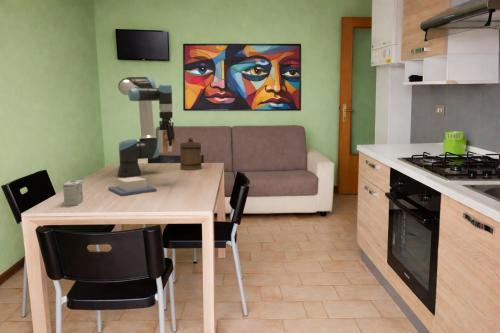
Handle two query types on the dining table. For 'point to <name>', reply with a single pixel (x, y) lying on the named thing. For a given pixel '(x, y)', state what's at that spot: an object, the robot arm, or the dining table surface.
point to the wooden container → (190, 155)
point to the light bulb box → (73, 192)
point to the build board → (124, 193)
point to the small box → (165, 142)
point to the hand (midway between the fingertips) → (167, 150)
